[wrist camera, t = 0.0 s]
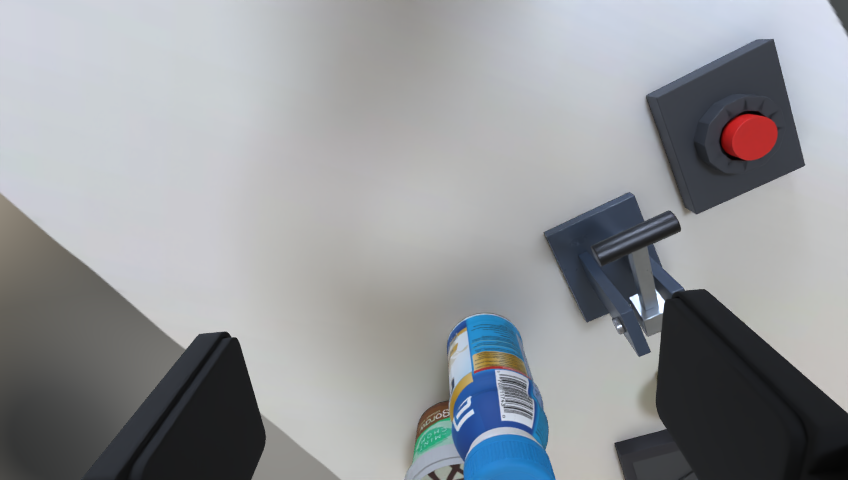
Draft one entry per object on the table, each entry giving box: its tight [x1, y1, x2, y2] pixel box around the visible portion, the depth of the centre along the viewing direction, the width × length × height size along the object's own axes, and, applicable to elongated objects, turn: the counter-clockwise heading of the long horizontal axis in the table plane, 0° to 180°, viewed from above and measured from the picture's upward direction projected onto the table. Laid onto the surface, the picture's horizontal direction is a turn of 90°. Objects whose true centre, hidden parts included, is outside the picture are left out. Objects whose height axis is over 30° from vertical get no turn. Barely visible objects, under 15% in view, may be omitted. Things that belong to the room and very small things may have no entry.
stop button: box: [721, 114, 778, 160], centre depth 41 cm, size 4×4×2 cm
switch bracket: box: [544, 192, 685, 357], centre depth 44 cm, size 11×9×13 cm
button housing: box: [646, 39, 805, 214], centre depth 43 cm, size 12×10×4 cm
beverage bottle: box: [447, 313, 556, 480], centre depth 44 cm, size 8×8×20 cm
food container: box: [404, 401, 464, 480], centre depth 53 cm, size 12×6×10 cm, turn 140°
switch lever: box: [591, 211, 681, 336], centre depth 36 cm, size 12×6×2 cm, turn 26°
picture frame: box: [615, 430, 698, 480], centre depth 58 cm, size 13×2×18 cm
